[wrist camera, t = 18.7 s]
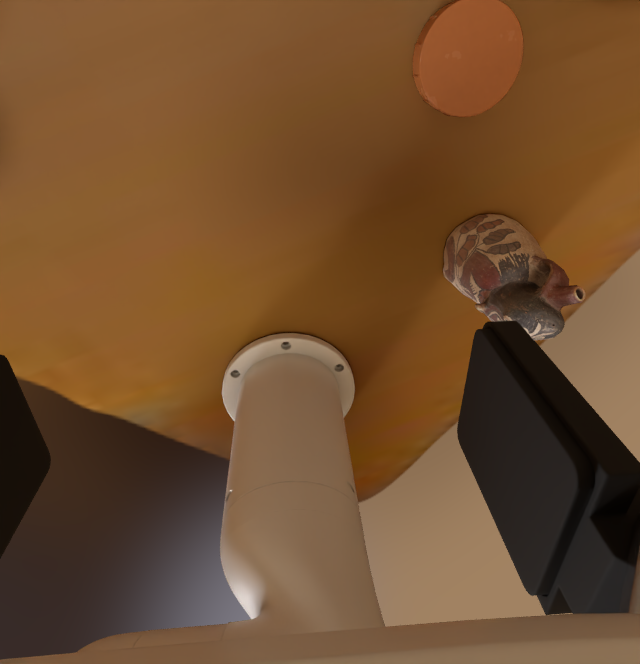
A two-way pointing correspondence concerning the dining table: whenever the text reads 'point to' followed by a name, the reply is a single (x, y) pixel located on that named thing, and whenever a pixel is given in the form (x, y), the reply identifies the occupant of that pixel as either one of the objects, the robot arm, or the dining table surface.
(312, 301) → the dining table surface
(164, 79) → the dining table surface
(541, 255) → the figurine
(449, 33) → the jar lid
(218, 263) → the dining table surface
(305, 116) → the dining table surface
